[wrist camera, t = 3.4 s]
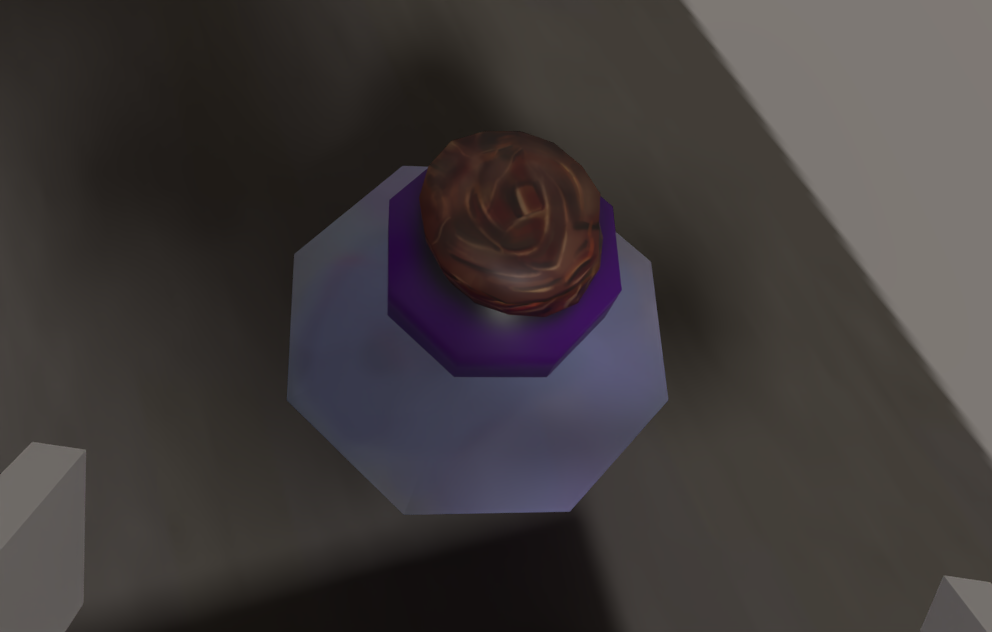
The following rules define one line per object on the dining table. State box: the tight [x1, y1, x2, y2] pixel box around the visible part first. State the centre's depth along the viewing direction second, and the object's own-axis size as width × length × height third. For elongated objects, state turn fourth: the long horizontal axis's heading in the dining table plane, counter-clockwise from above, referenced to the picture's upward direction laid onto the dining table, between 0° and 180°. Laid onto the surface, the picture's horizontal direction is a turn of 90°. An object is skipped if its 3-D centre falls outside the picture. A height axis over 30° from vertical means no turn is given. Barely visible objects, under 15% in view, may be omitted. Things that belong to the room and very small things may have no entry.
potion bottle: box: [287, 131, 668, 515], centre depth 20 cm, size 9×9×12 cm
